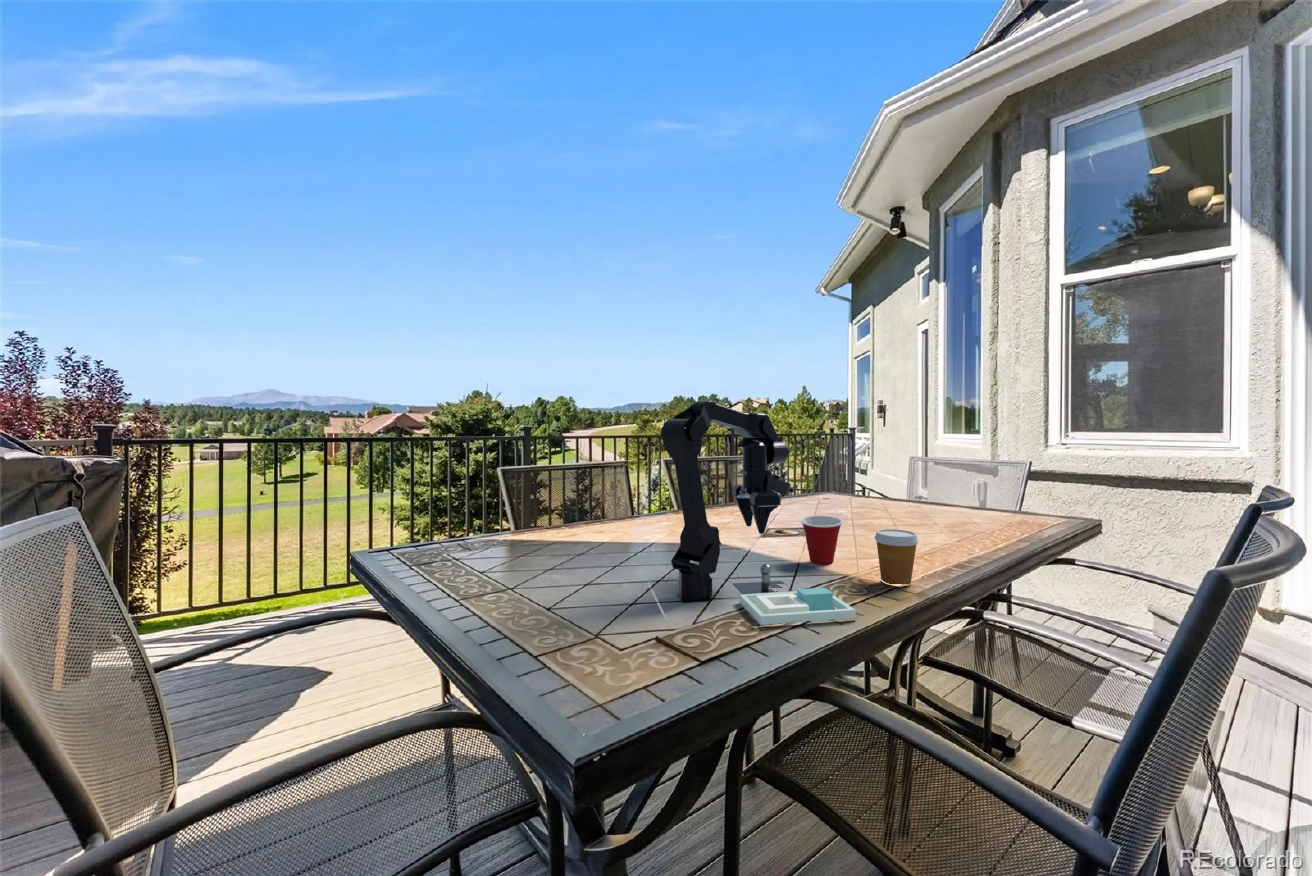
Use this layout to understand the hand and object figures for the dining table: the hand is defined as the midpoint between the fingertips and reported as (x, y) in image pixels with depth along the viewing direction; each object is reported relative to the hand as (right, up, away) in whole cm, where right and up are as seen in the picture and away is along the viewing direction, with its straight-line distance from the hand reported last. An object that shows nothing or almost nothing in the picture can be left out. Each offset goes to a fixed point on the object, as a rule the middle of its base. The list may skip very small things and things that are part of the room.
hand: (755, 529), depth 134 cm
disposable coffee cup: (+32, -12, -5) cm, 35 cm away
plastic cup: (+20, -12, +14) cm, 27 cm away
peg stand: (+1, -12, -10) cm, 16 cm away
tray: (+4, -13, -23) cm, 27 cm away
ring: (+4, -12, -23) cm, 26 cm away
